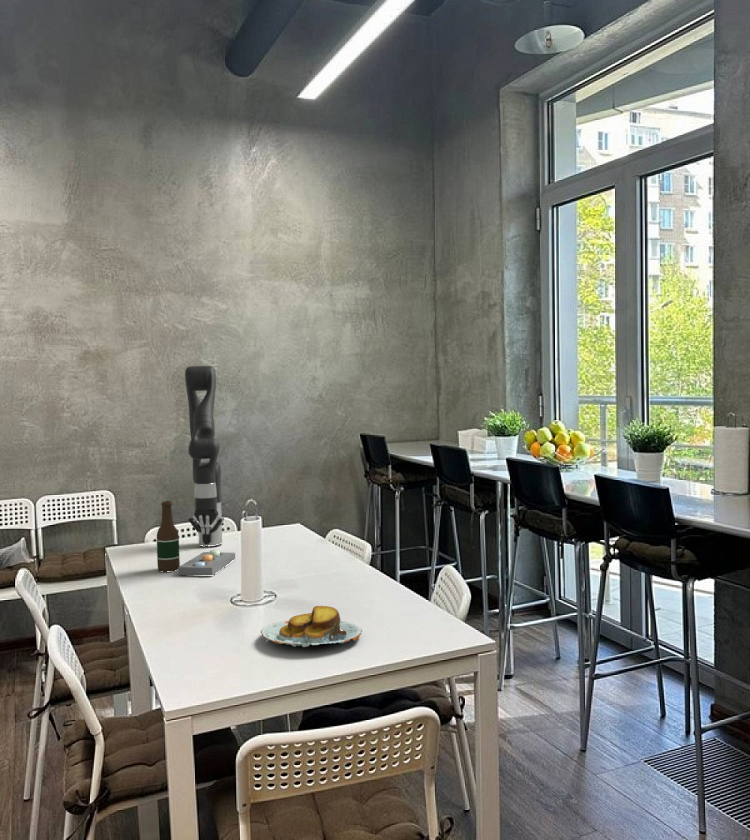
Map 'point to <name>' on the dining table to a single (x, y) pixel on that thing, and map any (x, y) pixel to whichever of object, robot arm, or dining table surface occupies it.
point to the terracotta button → (207, 557)
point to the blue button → (199, 564)
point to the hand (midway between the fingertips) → (207, 544)
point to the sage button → (215, 553)
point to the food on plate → (312, 629)
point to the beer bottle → (167, 541)
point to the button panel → (206, 564)
